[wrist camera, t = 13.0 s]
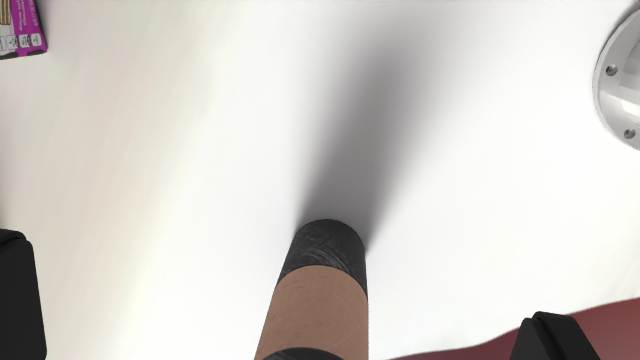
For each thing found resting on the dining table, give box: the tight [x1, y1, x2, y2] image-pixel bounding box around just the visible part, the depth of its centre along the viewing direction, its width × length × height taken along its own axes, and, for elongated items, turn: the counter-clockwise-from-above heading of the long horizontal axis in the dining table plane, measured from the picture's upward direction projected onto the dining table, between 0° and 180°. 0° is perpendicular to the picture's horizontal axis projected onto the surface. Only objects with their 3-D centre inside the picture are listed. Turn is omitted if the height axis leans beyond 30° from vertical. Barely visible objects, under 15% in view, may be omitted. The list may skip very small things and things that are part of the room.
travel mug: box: [254, 219, 368, 360], centre depth 36 cm, size 8×8×20 cm
